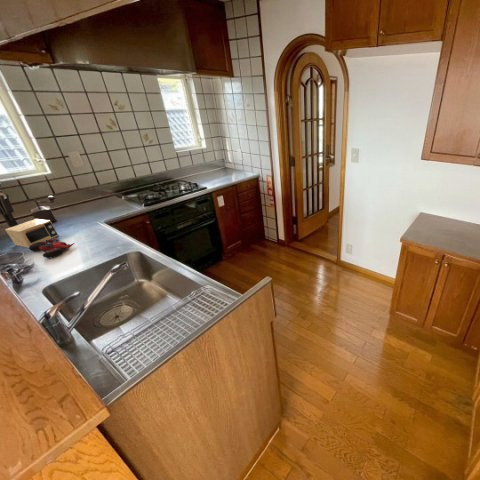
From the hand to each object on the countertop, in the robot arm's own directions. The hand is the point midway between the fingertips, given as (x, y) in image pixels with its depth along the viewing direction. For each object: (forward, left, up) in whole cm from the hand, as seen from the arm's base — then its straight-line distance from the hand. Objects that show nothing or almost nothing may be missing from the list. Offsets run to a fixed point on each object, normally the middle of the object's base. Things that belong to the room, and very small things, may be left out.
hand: (13, 225), depth 132 cm
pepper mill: (-58, +46, -23) cm, 78 cm away
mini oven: (-31, +20, -23) cm, 43 cm away
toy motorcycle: (-7, +14, -23) cm, 28 cm away
